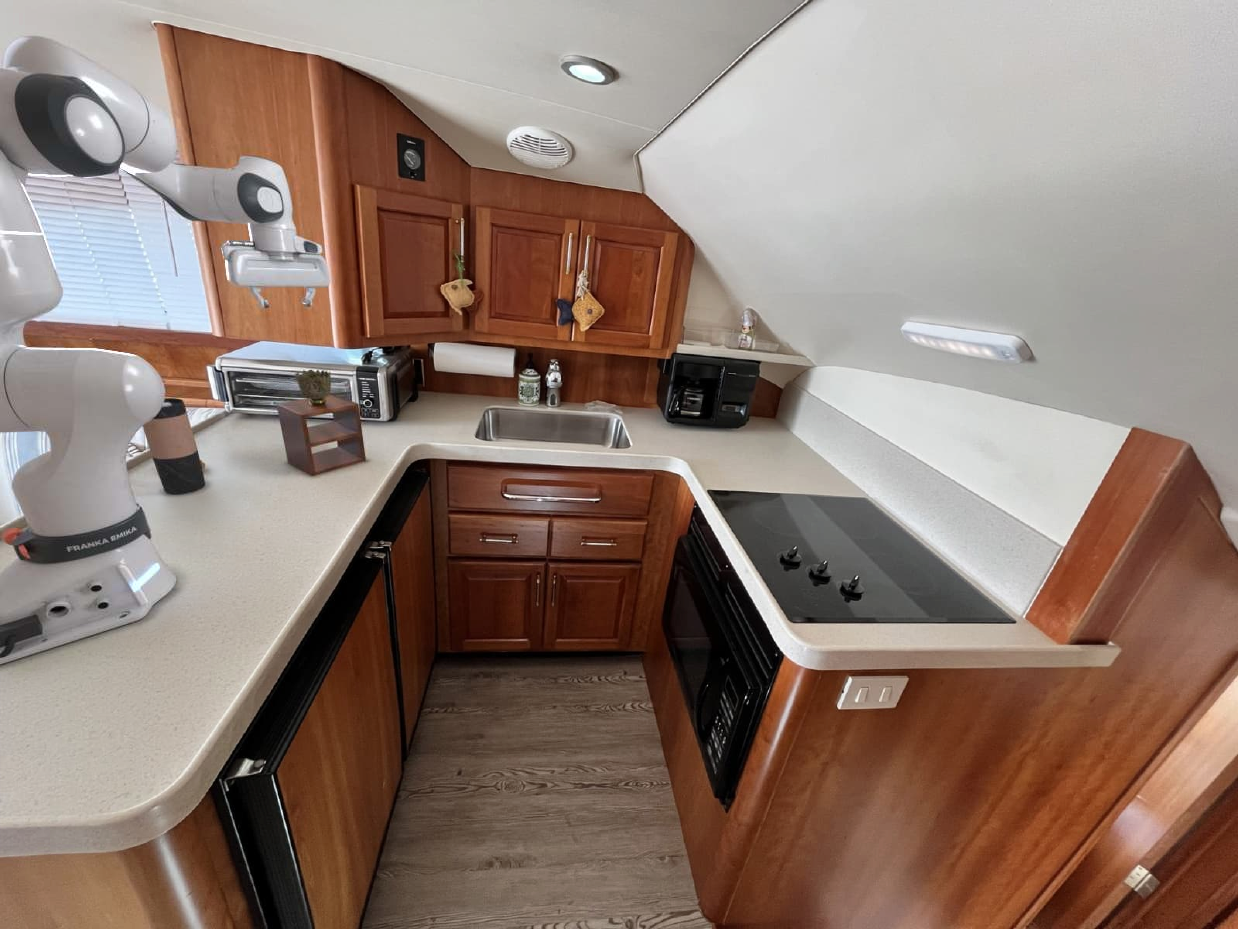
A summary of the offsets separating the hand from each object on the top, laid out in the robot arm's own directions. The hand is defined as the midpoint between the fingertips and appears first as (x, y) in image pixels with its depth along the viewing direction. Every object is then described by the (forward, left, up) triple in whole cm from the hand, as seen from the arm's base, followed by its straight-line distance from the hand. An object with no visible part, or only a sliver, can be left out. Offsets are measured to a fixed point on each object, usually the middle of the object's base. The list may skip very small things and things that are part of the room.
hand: (286, 307), depth 114 cm
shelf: (+2, -3, -39) cm, 39 cm away
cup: (+2, -3, -23) cm, 24 cm away
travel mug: (-26, +4, -39) cm, 47 cm away
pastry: (-23, +15, -39) cm, 48 cm away
